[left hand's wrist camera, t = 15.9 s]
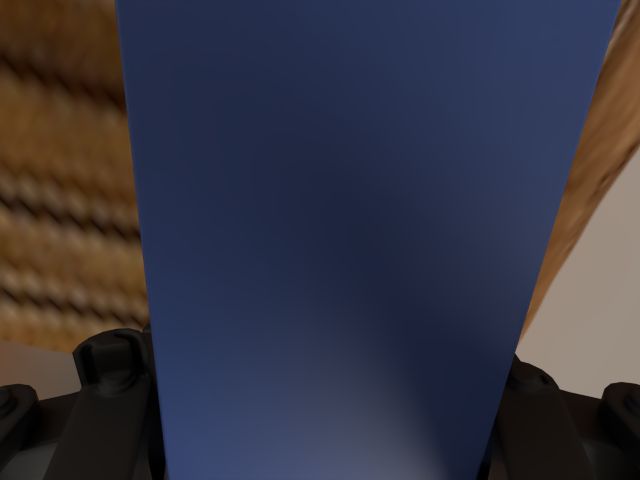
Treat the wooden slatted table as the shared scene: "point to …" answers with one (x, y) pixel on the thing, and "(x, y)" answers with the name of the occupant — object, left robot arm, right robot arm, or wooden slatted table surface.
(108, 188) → the wooden slatted table surface
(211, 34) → the bar
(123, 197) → the wooden slatted table surface
